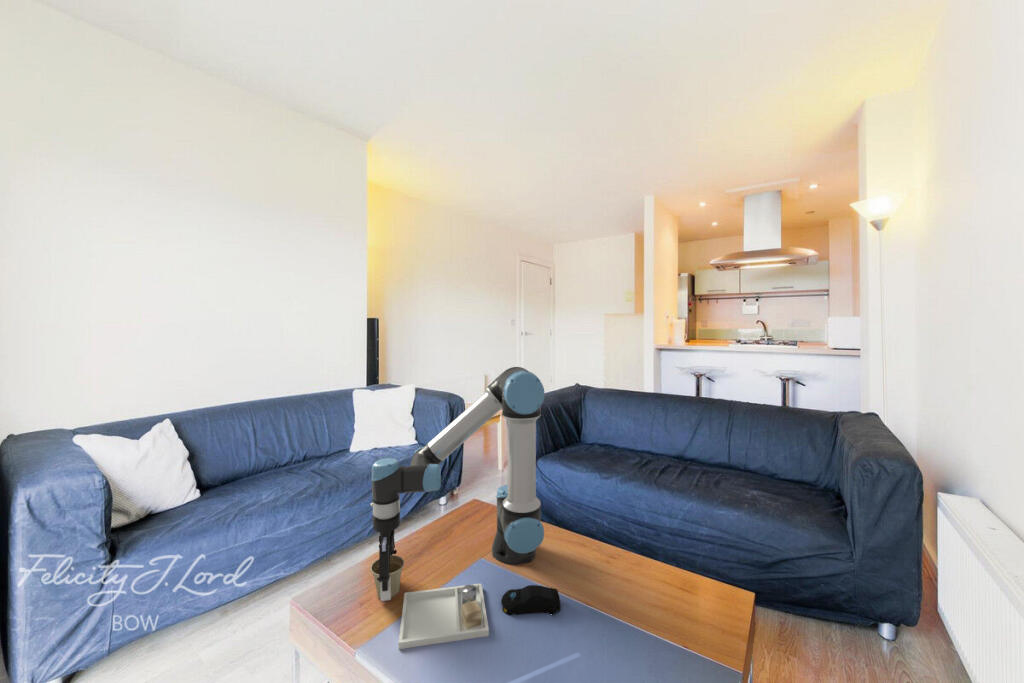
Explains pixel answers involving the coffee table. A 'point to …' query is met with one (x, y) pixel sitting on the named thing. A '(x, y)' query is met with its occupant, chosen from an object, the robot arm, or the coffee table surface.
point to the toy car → (531, 600)
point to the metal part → (468, 593)
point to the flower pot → (395, 574)
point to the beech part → (471, 614)
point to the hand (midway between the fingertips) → (388, 587)
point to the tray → (438, 617)
